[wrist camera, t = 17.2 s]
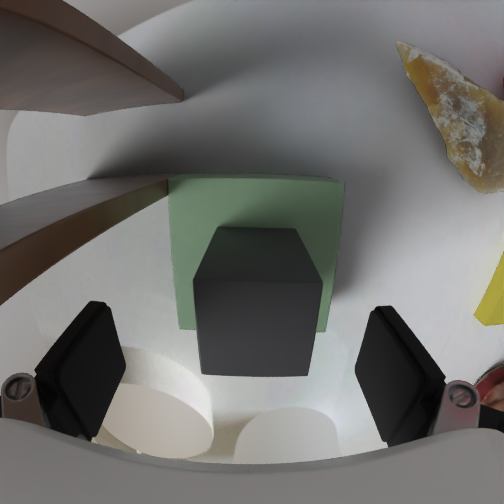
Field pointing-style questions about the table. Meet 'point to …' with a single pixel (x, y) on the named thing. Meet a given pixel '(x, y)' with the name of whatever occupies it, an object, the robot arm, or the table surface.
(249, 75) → the table surface
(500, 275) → the flat olive board
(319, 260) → the sage green square slab
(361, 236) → the table surface
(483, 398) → the face mug
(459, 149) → the stone
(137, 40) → the table surface
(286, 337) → the block
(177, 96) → the tall brown wooden block
